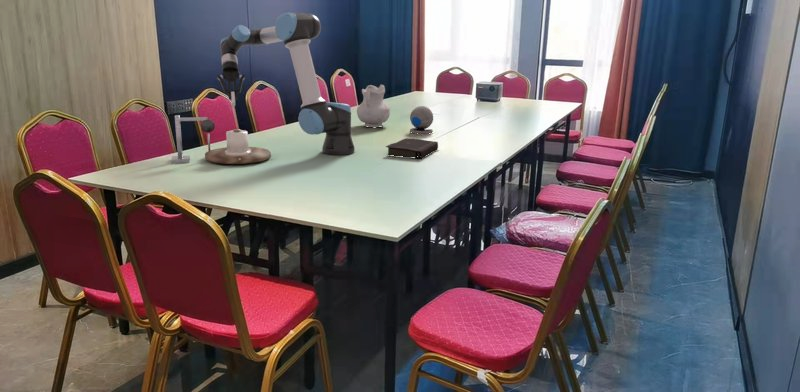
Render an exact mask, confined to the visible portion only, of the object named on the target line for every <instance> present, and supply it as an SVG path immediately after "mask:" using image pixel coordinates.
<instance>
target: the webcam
mask: <svg viewBox="0 0 800 392" xmlns="http://www.w3.org/2000/svg"><path fill="white" fill-rule="evenodd" d="M409 116H410V117H409V119H410V121H409V122H410V123H411V125H412V126H413V127H411V128H410V129H409V133H410V132H412V133H418V134H428V135H430V134H429V133H432V132H433V133H434V131H433V129H429V127H431V125H432V123H433V121H434V113H433V111H432V110H431V109H430V108H429V107H427V106H424V105H418V106H416V107H415V108H413V110H412V111H411V113H410V115H409ZM412 133H411V134H412ZM433 133H432V134H433ZM418 134H417V135H418Z"/></svg>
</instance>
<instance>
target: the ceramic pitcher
mask: <svg viewBox="0 0 800 392" xmlns="http://www.w3.org/2000/svg"><path fill="white" fill-rule="evenodd" d="M385 87H386V86H385V85H384V84H380V85H379V86H378V87H377V86H375V85H372V84H370V85H367V86H366V88H365V89H364V88H362V89H361V93H362V97H363V100H362V102H361V103H360V104H359V105H358V106H357V108H356V114H357V118H358V119H359V121H360V122H362V123H364V124H363V127H364V126H368V127H379V126H383V124H384V123H385V122H387V121H388V119H389V118H390V115H391V114H390V113H391V110H390V109H391V108H390V107H389V105H387V104H386V102H384V95H385V93H386V88H385ZM383 127H384V126H383Z"/></svg>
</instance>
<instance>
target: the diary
mask: <svg viewBox="0 0 800 392" xmlns="http://www.w3.org/2000/svg"><path fill="white" fill-rule="evenodd" d="M385 148H387V149H388V150H387V155H394V156H403V157H417V156H418V157H417V158H418V159H421V158H423V157H424V158H426V157H427V156H426V155H428V154H429V155H431V154H432V153H431V152H433V151H434V152H436V151H438V148H439V142H438V141H432V140H426V139H421V138H419V139H418V138H409V137H407V138H402V139H401V140H399V141H396V142H393V143H390V144H388V145H385ZM435 150H436V151H435ZM434 152H433V153H434ZM430 153H431V154H430ZM429 155H428V156H429ZM425 156H426V157H425ZM419 157H420V158H419ZM417 158H416V159H417ZM424 158H423V159H424Z"/></svg>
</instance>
